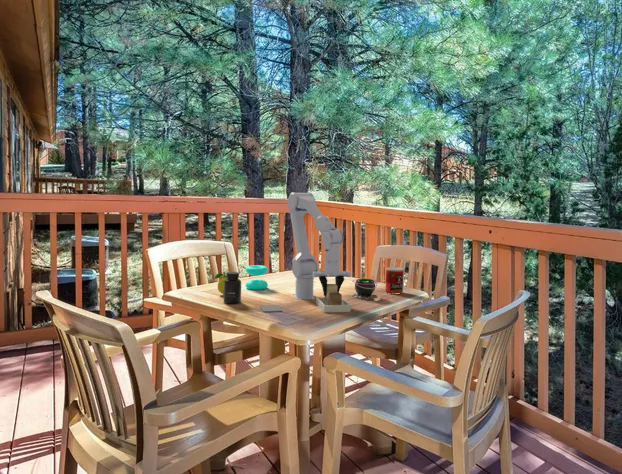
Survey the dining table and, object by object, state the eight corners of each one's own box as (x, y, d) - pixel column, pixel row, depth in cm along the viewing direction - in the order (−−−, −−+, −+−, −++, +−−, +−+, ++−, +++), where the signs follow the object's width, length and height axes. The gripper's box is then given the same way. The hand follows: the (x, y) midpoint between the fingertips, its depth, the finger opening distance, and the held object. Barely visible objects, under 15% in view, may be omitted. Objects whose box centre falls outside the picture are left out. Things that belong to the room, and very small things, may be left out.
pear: (214, 294, 213) (214, 270, 212) (227, 292, 217) (227, 269, 216) (220, 297, 208) (220, 273, 207) (233, 295, 211) (233, 272, 210)
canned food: (391, 295, 220) (392, 270, 219) (381, 291, 227) (382, 267, 226) (406, 294, 223) (407, 269, 222) (396, 290, 230) (397, 266, 229)
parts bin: (315, 304, 199) (316, 297, 198) (340, 304, 201) (341, 296, 200) (323, 313, 185) (323, 305, 185) (350, 313, 187) (350, 305, 187)
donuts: (253, 269, 220) (241, 265, 227) (253, 291, 221) (241, 287, 228) (272, 267, 226) (259, 264, 234) (272, 288, 227) (259, 285, 235)
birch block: (324, 298, 197) (325, 283, 197) (334, 298, 198) (334, 283, 198) (326, 301, 193) (327, 285, 193) (337, 300, 194) (337, 285, 194)
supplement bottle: (228, 305, 194) (228, 274, 193) (220, 301, 200) (220, 272, 199) (244, 303, 198) (244, 273, 197) (236, 299, 204) (236, 270, 203)
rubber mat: (260, 306, 194) (260, 305, 194) (283, 305, 196) (283, 304, 196) (263, 312, 185) (263, 311, 185) (287, 311, 187) (287, 310, 187)
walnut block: (328, 308, 191) (328, 292, 191) (338, 308, 192) (339, 292, 191) (330, 311, 187) (331, 295, 187) (341, 310, 188) (341, 295, 187)
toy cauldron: (363, 303, 203) (364, 276, 202) (339, 296, 215) (340, 271, 214) (389, 299, 212) (390, 273, 211) (365, 293, 224) (366, 268, 223)
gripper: (315, 262, 189) (314, 297, 190) (352, 262, 192) (351, 297, 193) (312, 259, 196) (311, 293, 197) (347, 259, 199) (346, 293, 200)
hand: (330, 295), depth 196 cm, fingers closed on birch block, 4 cm apart
